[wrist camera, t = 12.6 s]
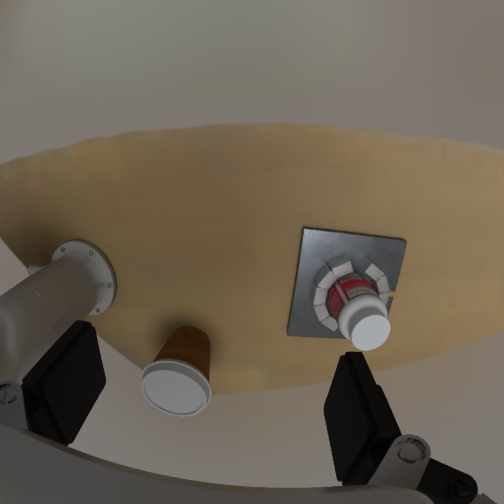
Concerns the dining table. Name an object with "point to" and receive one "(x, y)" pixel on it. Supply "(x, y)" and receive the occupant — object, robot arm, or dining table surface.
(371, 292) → the pill bottle
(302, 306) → the socket plate
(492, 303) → the dining table surface
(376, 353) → the dining table surface
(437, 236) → the dining table surface
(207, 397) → the disposable coffee cup
